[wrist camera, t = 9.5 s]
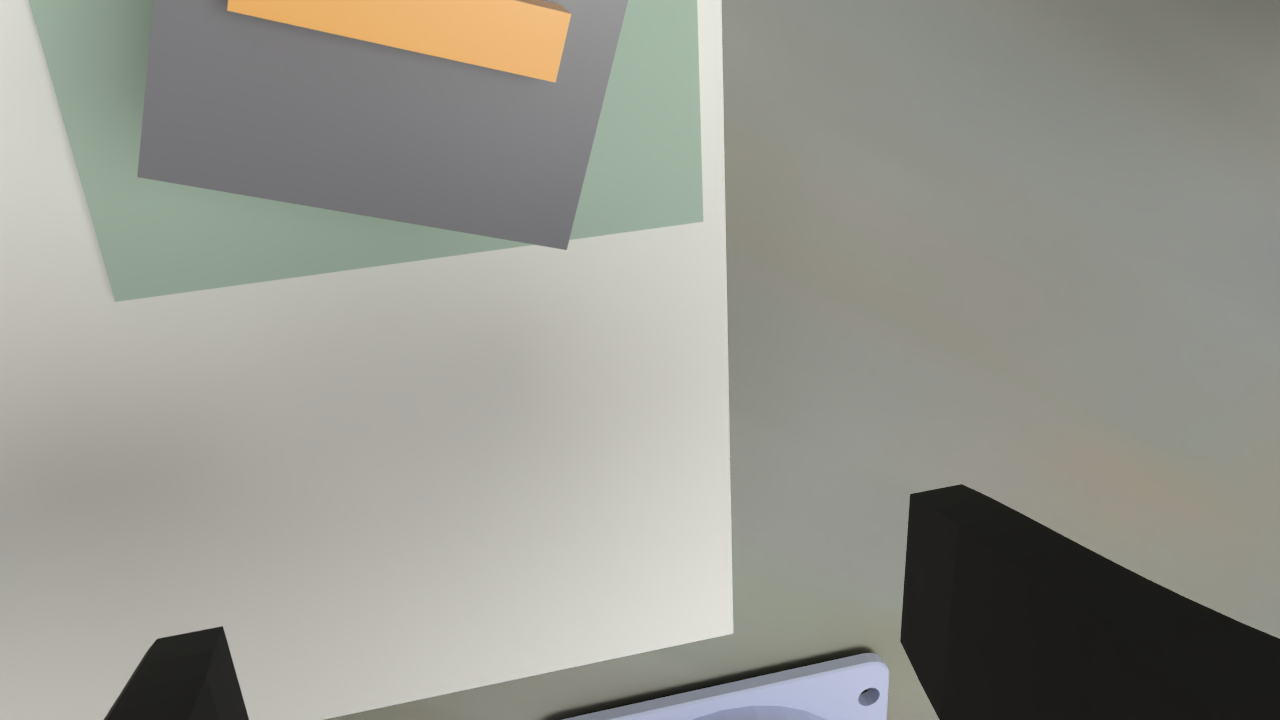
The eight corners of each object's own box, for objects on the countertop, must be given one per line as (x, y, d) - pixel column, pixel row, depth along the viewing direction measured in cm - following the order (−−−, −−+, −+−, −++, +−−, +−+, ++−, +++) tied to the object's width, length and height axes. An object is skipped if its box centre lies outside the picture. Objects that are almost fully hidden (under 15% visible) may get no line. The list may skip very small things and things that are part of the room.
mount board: (711, 588, 24) (817, 805, 19) (-355, 803, 20) (-592, 1150, 15) (678, -516, 16) (857, -679, 10) (-1184, -506, 12) (-2415, -760, 6)
